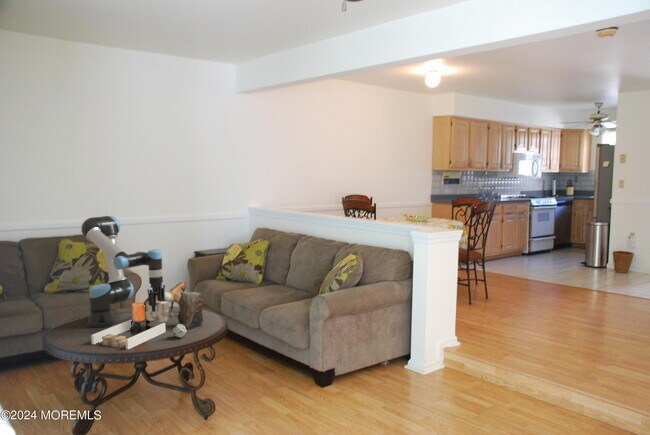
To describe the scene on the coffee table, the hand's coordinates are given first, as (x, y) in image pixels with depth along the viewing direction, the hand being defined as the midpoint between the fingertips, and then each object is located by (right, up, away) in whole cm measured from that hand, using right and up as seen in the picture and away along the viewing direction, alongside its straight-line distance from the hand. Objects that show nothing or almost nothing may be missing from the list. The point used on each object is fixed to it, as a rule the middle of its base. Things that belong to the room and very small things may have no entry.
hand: (157, 315), depth 315 cm
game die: (+18, -9, -19) cm, 28 cm away
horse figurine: (-3, -5, +22) cm, 23 cm away
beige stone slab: (0, -3, 0) cm, 3 cm away
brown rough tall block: (+18, -7, +1) cm, 20 cm away
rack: (-9, -9, -19) cm, 23 cm away
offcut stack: (-14, -10, -29) cm, 34 cm away
